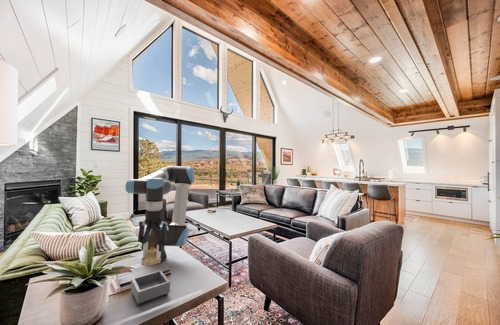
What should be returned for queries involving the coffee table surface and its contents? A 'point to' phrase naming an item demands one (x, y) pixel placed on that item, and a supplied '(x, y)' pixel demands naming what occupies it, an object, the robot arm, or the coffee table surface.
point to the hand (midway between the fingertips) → (151, 257)
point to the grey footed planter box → (149, 286)
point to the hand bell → (151, 252)
